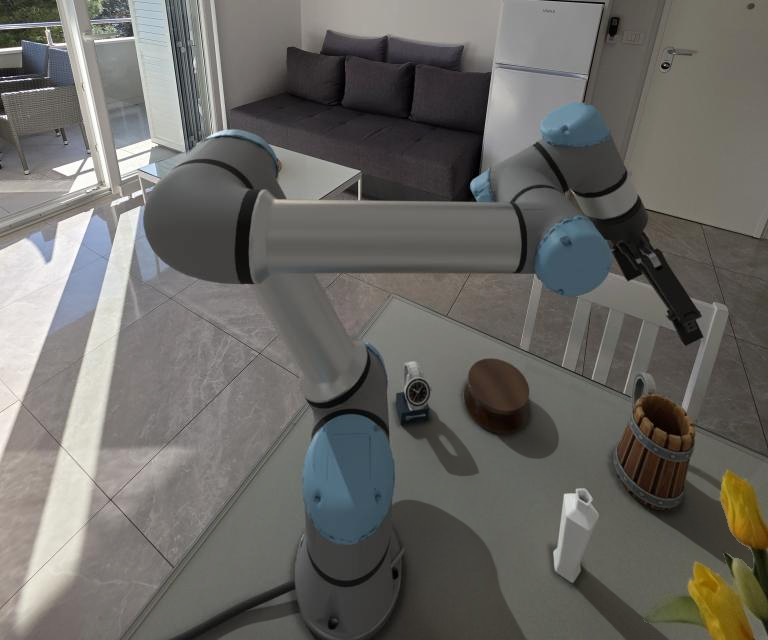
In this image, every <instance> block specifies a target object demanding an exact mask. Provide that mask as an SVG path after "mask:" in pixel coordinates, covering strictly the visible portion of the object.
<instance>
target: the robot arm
mask: <svg viewBox="0 0 768 640" xmlns="http://www.w3.org/2000/svg"><path fill="white" fill-rule="evenodd" d="M539 130H540V133H541V139H538V140H537V141H536V142H535V143H533V144H532V145H530V146H527V147H526V148H524V149H523V150H520V151H518V152H517V153H515V154H513V155H511V156H509V157H508V158H506V159H504V160H502V161H500V162H499V163H497V164H495V165H493V166H490V167H488V168H487V170H485V171H484V172H482V173H481V174H479V175H478V176H476V177H475V178H473V179H472V180H471V182H470V184H469V185H470V186H469V189H470V191H471V193H472V195H473V196H474V198H475V200H476V201H428V200H367V199H365V200H363V199H362V200H361V199H359V200H357V199H354V200H353V199H302V198H301V199H299V198H298V199H297V198H296V199H295V198H287V197H286V195H285V192H284V191H283V189H282V187H281V185H280V183H279V182H278V180H277V179H278V177H279V172H280V171H279V161H278V158H277V155H276V153H275V151H274V149H273V147H271V145H270V144H269V143H268V142H267V141H266V140H265V139H263V138H262V137H261V136H259V135H257V134H254V133H252V132H249V131H246V130H244V129H243V130H242V129H225V130H219V131H217V132H214V133H212V134H210V135H209V136H207V137H205V138H204V139H202V140H201V141H199V142H197V143H195V145H193V146H192V147H191V149H190V150H189V152H188V153H187V154H186V155H185V156H184V157H183V158H182V159H180V161H179V162H177V163H176V164H175V166H174V167H173V168H172V169H170V171H168V172H167V173H166V174H164V175H163V176H162V177H161V178H160V179H159V180H158V181H157V182H156V184H154V186H153V187H152V189H151V191H150V192H149V194H148V197H147V199H146V202H145V204H144V208H143V209H144V210H143V215H142V223H143V224H142V225H143V230H144V234H145V238H146V240H147V242H148V245H149V246H150V248H151V249H152V251H153V252H154V254H155V255H157V257H158V258H159V259H160V260H161V261H162V262H163V263H164V264H165V265H166V266H169V267H170V268H172V269H173V270H175V271H177V272H179V273H181V274H182V275H184V276H188V277H190V278H191V277H192V278H193V279H197V280H201V281H205V282H210V283H211V282H212V283H217V284H225V285H226V284H228V285H248V287H249V289H250V291H251V293H253V295H254V297H255V299H256V300H257V302H258V303H259V305H260V306H261V308H262V310H263V311H264V313H265V315H266V317H267V318H268V320H269V321H270V323H271V325H272V326H273V328H274V329H275V331H276V332H277V335H278V336H279V337H280V339H281V341H282V342H283V344H284V346H285V347H286V349H287V350H288V352H289V354H290V356H291V357H292V359H293V361H294V362H295V364H296V366H297V367H298V368H299V370H300V372H299V376H298V377H299V378H298V386H299V391H300V392H301V394H302V396H303V397H304V399H305V401H306V402H307V404H308V406H309V407H310V409H311V411H312V414H313V420H312V428H311V429H312V431H311V438H310V444H309V446H308V449H307V452H306V454H305V459H304V463H303V468H302V476H301V488H302V493H303V495H302V497H303V502H304V521H305V523H304V524H305V531H304V534H303V535H302V537H301V540H300V542H299V545H298V548H297V551H296V555H295V560H294V571H293V572H294V573H293V575H294V579H292V580H290V581H287V582H285V583H283V584H280V585H278V586H276V587H273V588H272V589H269V590H266V591H264V592H262V593H259V594H257V595H255V596H253V597H250V598H248V599H246V600H244V601H241V602H240V603H237V604H234V605H233V606H231V607H229V608H227V609H226V610H225V609H224V611H221V612H220V613H217V614H216V615H214V616H213V617H210V618H209V619H207V620H205V621H203V622H201V623H199V624H197V625H196V626H194V627H193V628H190V629H188V630H186V631H185V632H183V633H180V634H178V635H176V636H174V637H172V638H169V639H168V640H194V639H196V638H198V637H200V636H201V635H203V634H206V633H207V632H209V631H210V630H212V629H214V628H216V627H218V626H220V625H221V624H223V623H225V622H227V621H229V620H231V619H232V618H235V617H237V616H238V615H241V614H242V613H245V612H247V611H249V610H252V609H254V608H255V607H259V606H261V605H262V604H265V603H267V602H270V601H272V600H274V599H276V598H279V597H281V596H284V595H285V594H288V593H291V592H293V591H295V592H294V593H295V599H296V603H297V607H298V610H299V612H300V615H301V617H302V619H303V621H304V623H305V624H306V626H307V627H308V629H309V630H310V631H311V632H312V633H313V635H315V636H316V637H317V638H318V639H320V640H370V639H372V638H374V636H376V634H378V633H379V632H380V631H381V630H382V628H383V627H384V626H385V625H386V623H387V622H388V621H389V619H390V618H391V616H392V614H393V611H394V609H395V607H396V604H397V601H398V598H399V595H400V590H401V583H402V582H401V581H402V571H403V568H402V566H403V564H402V561H403V560H402V556H403V554H404V553H405V547H403V548H402V549H401V547H400V543H399V540H398V537H397V534H396V532H395V529H394V528H393V526H392V511H393V497H394V491H395V490H394V489H395V485H396V468H395V460H394V457H393V452H392V447H391V442H390V419H389V401H388V385H389V384H388V383H389V382H388V373H387V368H386V365H385V361H384V359H383V356H382V354H381V353H380V351H379V350H378V349H377V348H376V347H375V346H374V345H373V344H371V343H370V342H364V341H363V339H362V338H360V337H358V336H356V335H353V334H348V331H347V330H346V328H345V326H344V324H343V323H342V321H341V318H340V317H339V315H338V314H337V312H336V309H335V308H334V306H333V304H332V303H331V301H330V299H329V296H328V295H327V293H326V292H325V290H324V288H323V286H322V284H321V283H320V280H319V279H318V277H317V275H316V274H475V275H476V274H481V275H482V274H483V275H484V274H485V275H486V274H490V275H491V274H493V275H495V274H496V275H498V274H502V275H503V274H507V275H509V274H512V275H514V274H516V275H517V274H518V275H535V276H536V278H537V279H538V280H539V281H540V282H541V283H542V284H543V285H544V286H545V288H547V290H549V291H551V292H553V293H555V294H558V295H560V296H562V297H569V298H571V297H579V296H582V295H585V294H589V293H590V292H593V291H594V290H595V289H597V288H598V287H600V286H601V285H602V283H604V281H606V278H608V275H609V273H610V271H611V268H612V262H613V257H614V259H615V261H616V263H617V266H618V267H619V269H620V271H621V274H622V275H623V277H624V279H625V280H626V281H627V282H630V281H632V280H634V279H636V278H638V277H640V276H641V275H643V276H644V277H645V279H646V280H647V281H648V283H649V285H650V286H651V287H652V289H653V290H654V291H655V293H656V294H657V296H658V297H659V299H660V300H661V301H662V303H663V304H664V305H665V307H666V308H667V310H666V313H667V315H665V317H666V318H667V320H669V322H671V323H672V325H673V327H674V329H675V331H676V333H677V335H678V337H679V339H680V341H681V343H683V345H684V346H685V347H686V346H689V345H691V344H692V343H695V342H698V341H700V340H701V339H703V338H704V335H703V332H702V330H701V328H700V326H699V324H698V322H697V320H698V319H700V318H702V317H703V315H702V314H701V311H700V310H699V309H698V308H697V306H696V304H695V303H694V302H693V300H692V298H691V297H690V295H689V294H688V292H687V291H686V289H685V288H684V287H683V284H682V283H681V282H680V281H679V279H678V278H677V276H676V274H675V272H674V271H673V270H672V268H671V267H670V265H669V263H668V262H667V260H666V257H665V256H664V254H663V251H662V250H661V249H659V248H658V247H657V248H654V247H653V245H652V244H651V242H650V241H651V240H650V238H649V236H647V234H646V233H645V232H644V230H645V228H646V227H647V225H648V223H649V214H648V211H647V209H646V206H645V205H644V203H643V200H642V198H641V197H640V194H638V191H637V189H636V186H635V184H634V182H633V181H632V178H631V177H632V176H633V171H631V169H629V168H628V169H627V168H626V165H625V163H624V161H623V159H622V157H621V154H620V152H619V150H618V147H617V144H616V143H615V140H614V138H613V134H612V132H611V129H609V127H608V125H607V124H606V121H605V119H604V118H603V115H601V113H600V112H599V110H598V109H597V108H596V107H595V106H594V105H592V104H589V103H587V102H572V103H568V104H563V105H561V106H559V107H557V108H555V109H553V110H552V111H550V112H549V113H548V115H547V116H544V118H543V119H542V120H541V122H540V125H539ZM569 190H570V191H571V193H572V195H573V197H574V198H575V200H576V203H577V204H578V206H579V208H580V209H578V208H577V206H576V205H575V204H574V203H573V202H572V201H570V199H568V197H567V196H565V193H567V192H569ZM639 259H640V262H638V261H637V260H639Z"/></svg>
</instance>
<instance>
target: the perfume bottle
mask: <svg viewBox="0 0 768 640" xmlns="http://www.w3.org/2000/svg"><path fill="white" fill-rule="evenodd" d="M592 502H593V497H592V495H591V494H590V492H589V491H588V490H587V489H586V488H585V487H583V488H582V487H581V488H580V487H579V488H575V493H574V492H573V493H563V501H562V509H561V515H560V523H559V530H558V531H559V532H558V539H557V547H556V548H555V549H554V550H553V553H552V554H553V566H554V571H555V573H557V574H558V575H560V576H561V577H562V578H564V579H565V580H567V581H568V582H569V583H570V584H574V583H575V581H576V580H577V578H578V576H579V575H580V573H581V571H582V568H581V561H582V559H583V557H584V554H585V552H586V549H587V547H588V544H589V542H590V540H591V537H592V534H593V533H594V530H595V527H596V525H597V523H598V520H599V517H600V514H599V512H598V511H597V510H596V508H595V507H594V506H593V504H592Z"/></svg>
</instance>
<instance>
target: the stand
mask: <svg viewBox="0 0 768 640" xmlns="http://www.w3.org/2000/svg"><path fill="white" fill-rule="evenodd" d="M462 399H463V400H462V401H463V405H464V408H465V410H466V412H467V414H468V415H469V417H470V418H471V420H472V421H473V422H474V423H476V424H477V425H478V426H480V427H481V428H483V430H486V431H488V432H491V433H493V434H498V435H510V434H514V433H517V432H518V431H520V430H522V429H523V428H524V426H525V425H526V423H527V422H528V419H529V412H530V411H529V403H528V402H529V399H530V387H529V383H528V380H527V379H526V377H525V376H524V374H523V373H522V372H521V371H520V370H519V369H518V368H517V367H516V366H514V365H513V364H511V363H510V362H507V361H505V360H502V359H500V358H499V359H498V358H490V357H489V358H482V359H480V360H478V361H476V362H475V363H473V364H472V366H471V367H470V368H469V370H468V373H467V382H466V384H465V386H464V388H463V395H462Z"/></svg>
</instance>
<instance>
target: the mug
mask: <svg viewBox="0 0 768 640" xmlns="http://www.w3.org/2000/svg"><path fill="white" fill-rule="evenodd" d="M644 391H645V392H644ZM630 398H631V399H630V401H631V402H630V404H631V410H630V413H629V417H628V421H627V424H626V426H625V427H624V430H623V433H622V436H621V438H620V440H619V441H618V442H617V445H616V447H615V449H614V451H613V458H612V459H613V469H614V471H615V474H616V476H617V477H618V479H619V483H621V485H622V486H623V488H624V489H625V490H626V491H627V492H628V493H630V495H631V496H632V497H634V498H635V499H636V500H637V501H639V502H640V503H642V504H644V505H645V506H647V507H650V508H651V509H655V510H659V511H670V510H671V511H672V510H674V509H676V508H677V507H678V505H679V504H680V503H681V502H682V499H683V498H684V494H685V491H686V490H685V489H686V479H687V475H688V469H689V466H690V465H689V464H690V461H691V457H692V456H693V453H694V450H695V444H696V429H695V427H696V426H695V423H694V420H693V419H692V417H691V416H690V415H688V412H687V411H686V409H684V408H683V406H681V405H679V404H677V405H676V403H675V401H674V400H673V399H671V398H669V397H662V395H661V394H659V393H658V392H657V386H656V383H655V379H654V378H653V376H652V375H651V374H650V373H646V372H640V371H638V372H636V374H635V375H634V377H633V381H632V387H631V397H630Z"/></svg>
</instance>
